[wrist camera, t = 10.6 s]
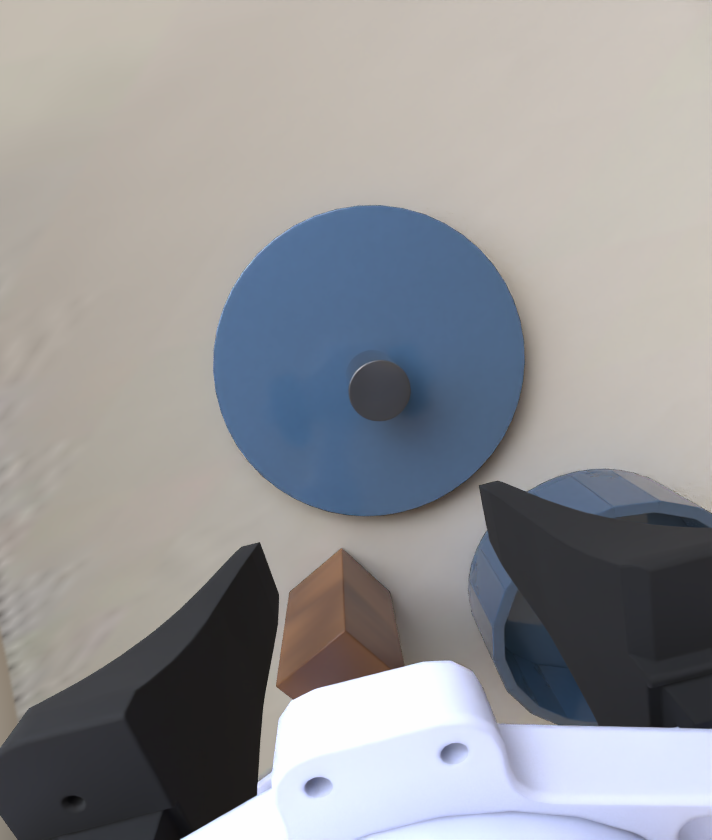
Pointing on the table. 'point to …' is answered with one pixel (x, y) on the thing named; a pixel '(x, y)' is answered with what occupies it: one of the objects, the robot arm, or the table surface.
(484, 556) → the pot
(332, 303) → the lid
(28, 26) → the table surface
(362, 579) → the block
